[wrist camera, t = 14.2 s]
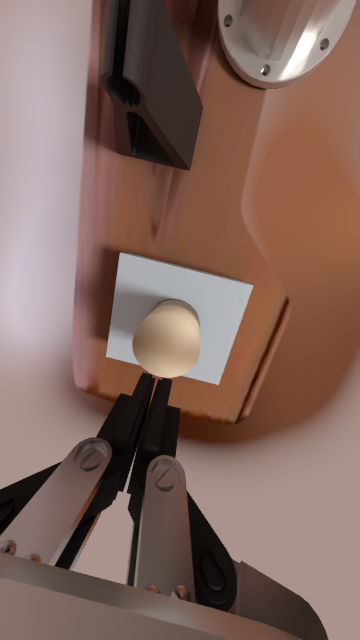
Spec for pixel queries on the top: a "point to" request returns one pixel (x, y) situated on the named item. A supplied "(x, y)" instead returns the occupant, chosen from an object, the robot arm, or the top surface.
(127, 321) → the gray rectangular block
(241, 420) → the top surface
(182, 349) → the beech peg
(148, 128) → the dark grey a-shaped piece
